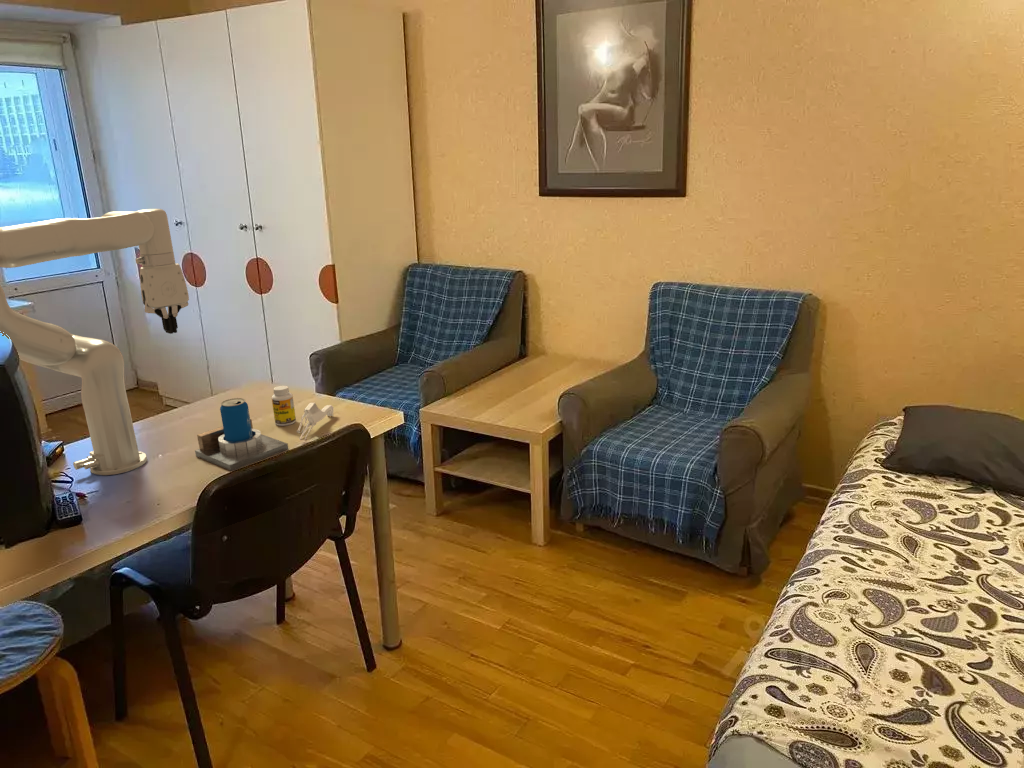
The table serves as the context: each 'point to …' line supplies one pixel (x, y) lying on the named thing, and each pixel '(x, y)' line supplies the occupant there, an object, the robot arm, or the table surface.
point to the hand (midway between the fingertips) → (171, 332)
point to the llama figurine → (314, 416)
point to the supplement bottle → (283, 406)
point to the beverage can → (236, 420)
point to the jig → (236, 448)
